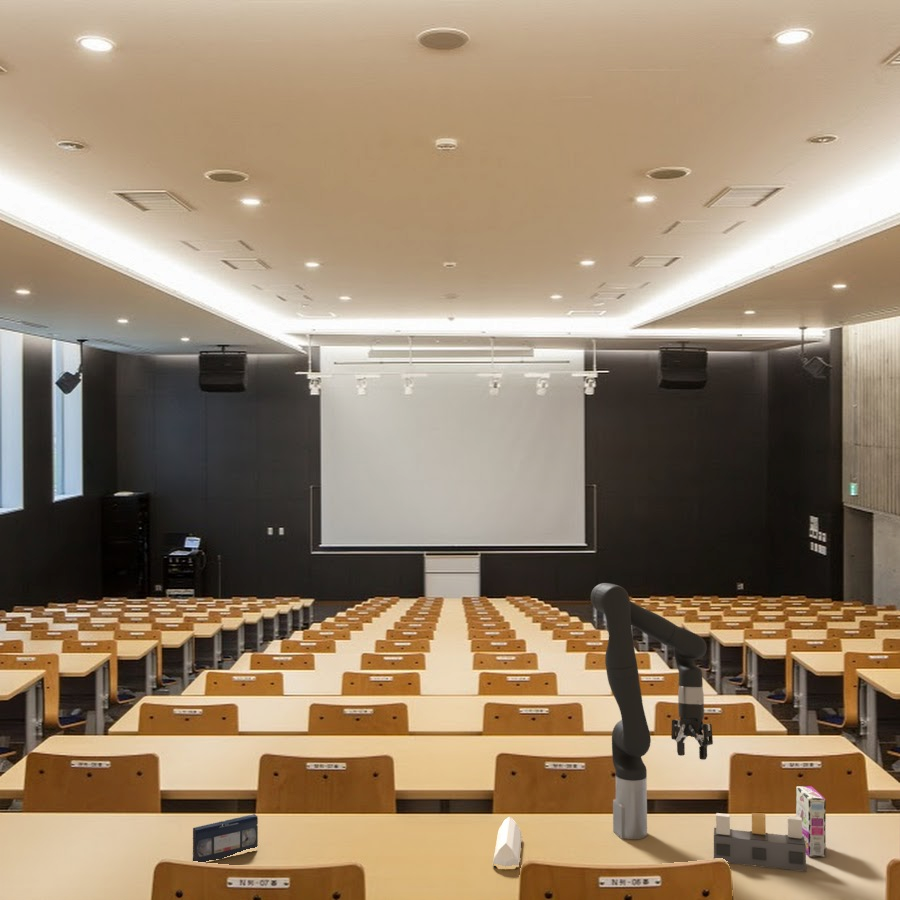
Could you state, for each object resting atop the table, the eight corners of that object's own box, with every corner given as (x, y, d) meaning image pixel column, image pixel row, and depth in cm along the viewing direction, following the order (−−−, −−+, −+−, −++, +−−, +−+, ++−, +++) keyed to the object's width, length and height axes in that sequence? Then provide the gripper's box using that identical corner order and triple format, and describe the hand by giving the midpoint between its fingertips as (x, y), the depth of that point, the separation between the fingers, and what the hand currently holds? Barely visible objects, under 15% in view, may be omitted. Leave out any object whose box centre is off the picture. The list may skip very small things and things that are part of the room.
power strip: (713, 862, 261) (713, 835, 261) (714, 852, 267) (714, 827, 267) (806, 872, 254) (805, 845, 254) (804, 862, 260) (804, 836, 260)
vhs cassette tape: (195, 866, 260) (195, 830, 260) (191, 862, 262) (191, 826, 262) (258, 851, 269) (258, 816, 270) (255, 848, 272) (254, 813, 272)
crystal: (491, 824, 280) (485, 857, 256) (512, 812, 279) (507, 844, 255) (503, 846, 279) (498, 881, 255) (524, 834, 279) (521, 869, 255)
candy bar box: (827, 857, 263) (826, 798, 264) (809, 857, 264) (808, 798, 264) (812, 842, 275) (812, 785, 275) (795, 841, 275) (795, 785, 275)
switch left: (716, 833, 262) (716, 815, 262) (716, 831, 264) (716, 813, 264) (729, 835, 261) (729, 816, 261) (729, 832, 263) (729, 814, 263)
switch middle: (752, 833, 262) (751, 815, 262) (751, 830, 264) (751, 812, 264) (765, 834, 261) (765, 816, 261) (765, 832, 263) (765, 814, 263)
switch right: (788, 837, 259) (787, 818, 259) (787, 834, 261) (787, 816, 261) (802, 838, 258) (801, 820, 258) (801, 835, 260) (801, 817, 260)
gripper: (664, 700, 289) (665, 754, 287) (700, 704, 278) (701, 761, 275) (682, 699, 293) (683, 753, 291) (717, 703, 282) (719, 760, 279)
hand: (692, 757), depth 283 cm, fingers open, 8 cm apart
